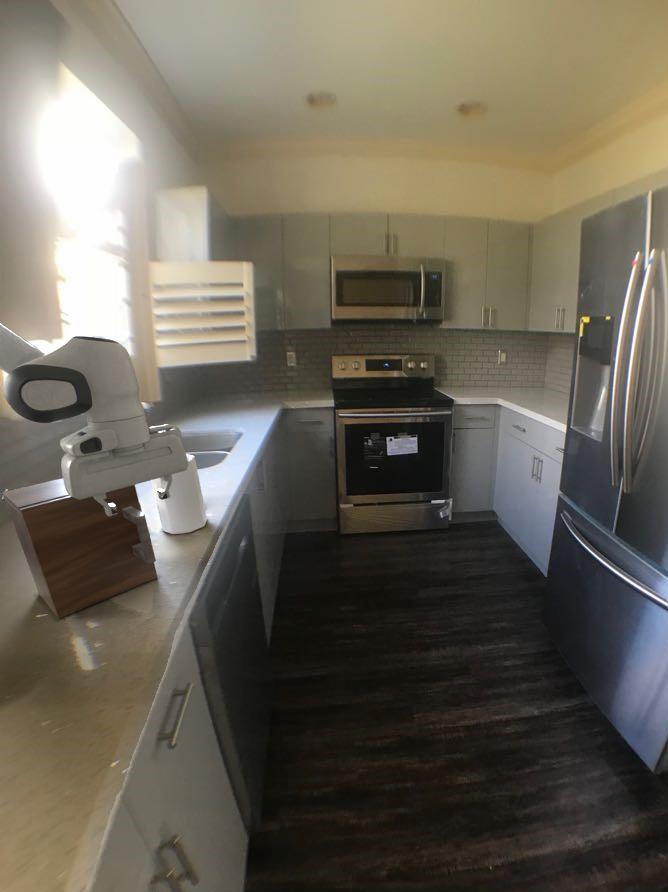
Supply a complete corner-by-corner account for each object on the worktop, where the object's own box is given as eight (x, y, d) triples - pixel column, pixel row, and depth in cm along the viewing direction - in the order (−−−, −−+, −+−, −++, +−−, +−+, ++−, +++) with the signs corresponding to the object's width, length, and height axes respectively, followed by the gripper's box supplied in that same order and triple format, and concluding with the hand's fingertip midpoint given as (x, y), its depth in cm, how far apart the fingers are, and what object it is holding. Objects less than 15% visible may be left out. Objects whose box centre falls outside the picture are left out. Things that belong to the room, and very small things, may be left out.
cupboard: (155, 576, 99) (131, 478, 90) (57, 616, 86) (18, 507, 78) (132, 559, 106) (108, 467, 98) (39, 594, 93) (2, 492, 85)
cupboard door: (172, 588, 94) (149, 487, 85) (71, 634, 81) (31, 520, 73) (155, 575, 98) (131, 479, 90) (57, 616, 86) (19, 508, 78)
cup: (166, 538, 116) (150, 469, 109) (159, 523, 124) (144, 458, 117) (212, 527, 121) (199, 460, 114) (201, 513, 130) (189, 450, 123)
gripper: (170, 420, 89) (185, 486, 94) (48, 443, 75) (72, 520, 80) (186, 423, 85) (200, 493, 90) (60, 449, 71) (85, 529, 76)
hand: (139, 506), depth 85 cm, fingers open, 8 cm apart
